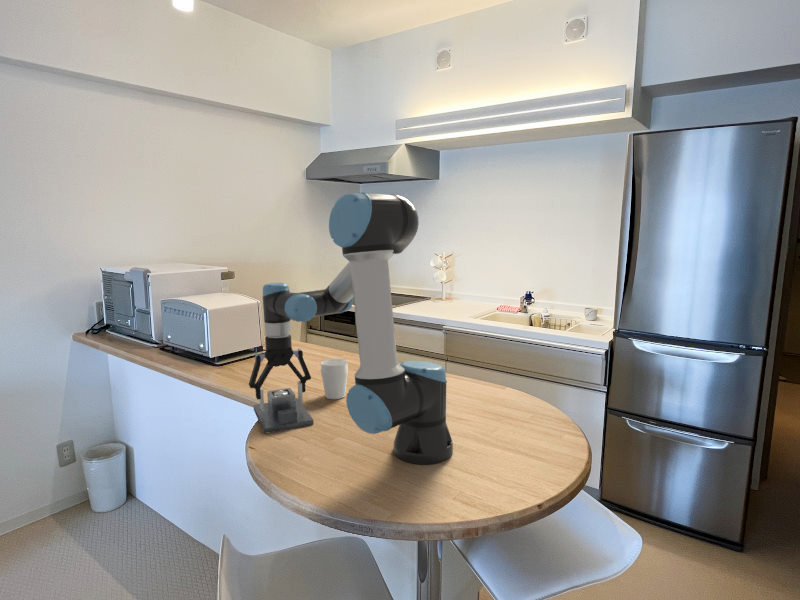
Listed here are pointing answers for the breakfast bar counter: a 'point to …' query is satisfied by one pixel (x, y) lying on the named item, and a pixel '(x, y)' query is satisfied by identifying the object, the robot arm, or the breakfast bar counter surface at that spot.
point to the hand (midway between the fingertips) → (281, 405)
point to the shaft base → (283, 416)
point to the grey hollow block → (280, 401)
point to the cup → (334, 377)
